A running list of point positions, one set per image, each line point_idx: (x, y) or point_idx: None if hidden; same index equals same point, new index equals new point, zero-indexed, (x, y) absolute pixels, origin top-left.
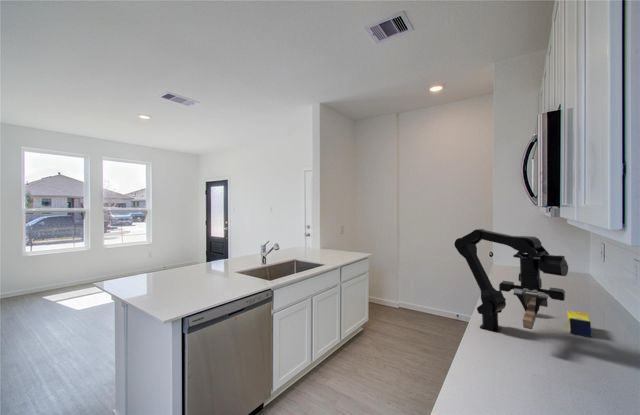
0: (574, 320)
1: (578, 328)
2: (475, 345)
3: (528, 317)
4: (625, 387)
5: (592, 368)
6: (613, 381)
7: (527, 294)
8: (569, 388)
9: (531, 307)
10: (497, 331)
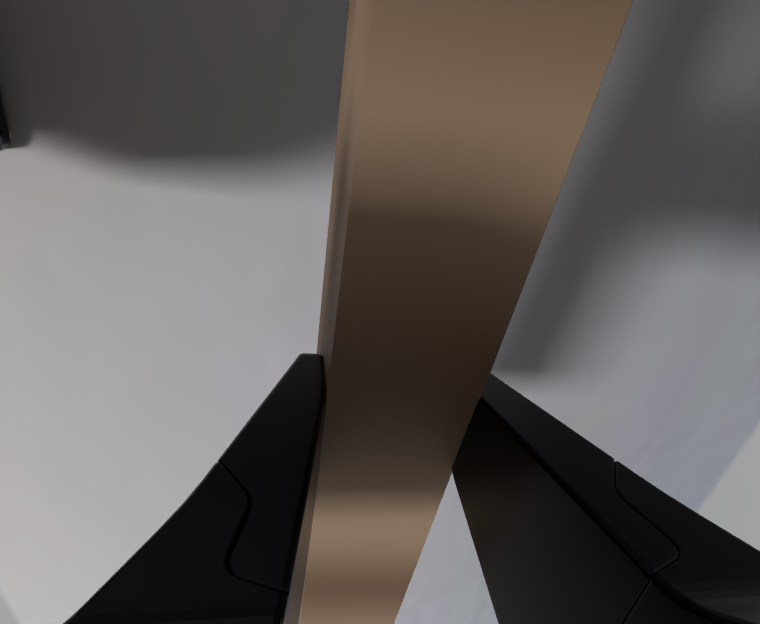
0: None
1: None
2: (15, 502)
3: (353, 614)
4: (689, 488)
5: (633, 398)
6: (668, 468)
7: None
8: (479, 601)
9: (406, 372)
10: (4, 147)
